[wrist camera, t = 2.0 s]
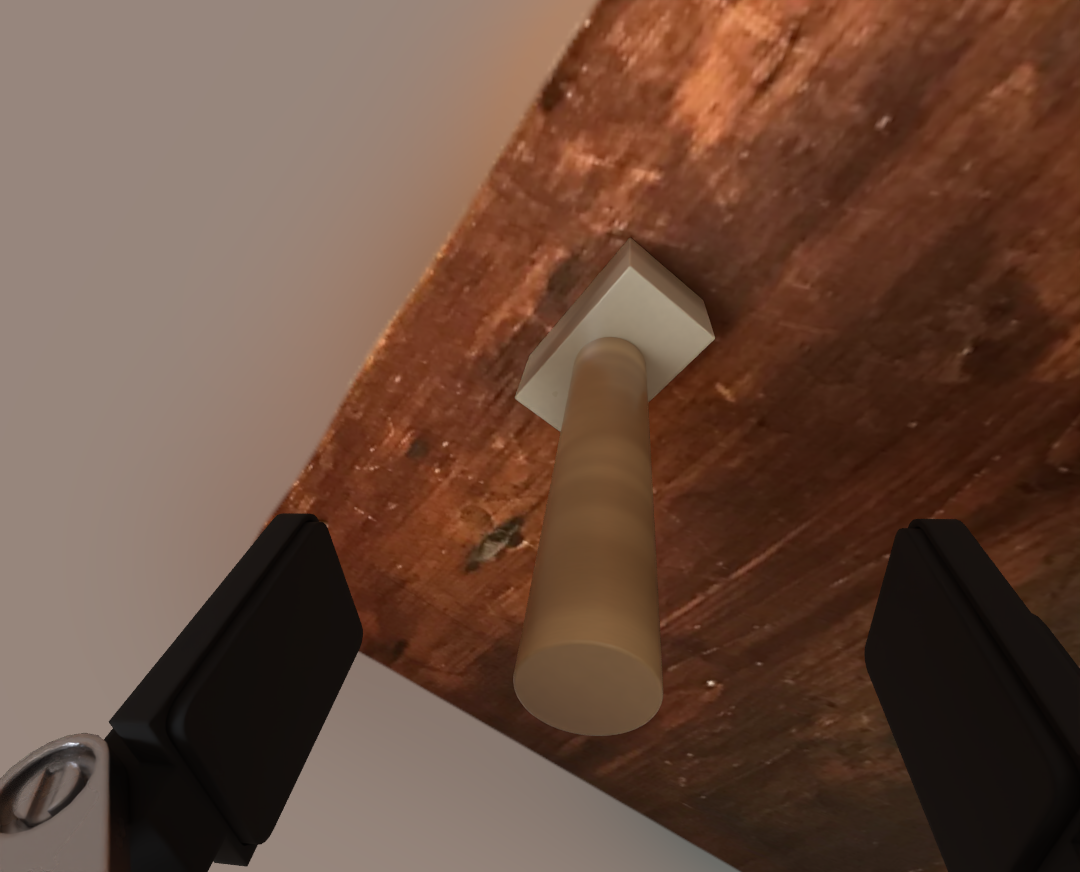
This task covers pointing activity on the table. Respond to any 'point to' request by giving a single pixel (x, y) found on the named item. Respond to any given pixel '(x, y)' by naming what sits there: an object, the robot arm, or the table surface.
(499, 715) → the table surface
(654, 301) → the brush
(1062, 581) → the table surface
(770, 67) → the table surface
